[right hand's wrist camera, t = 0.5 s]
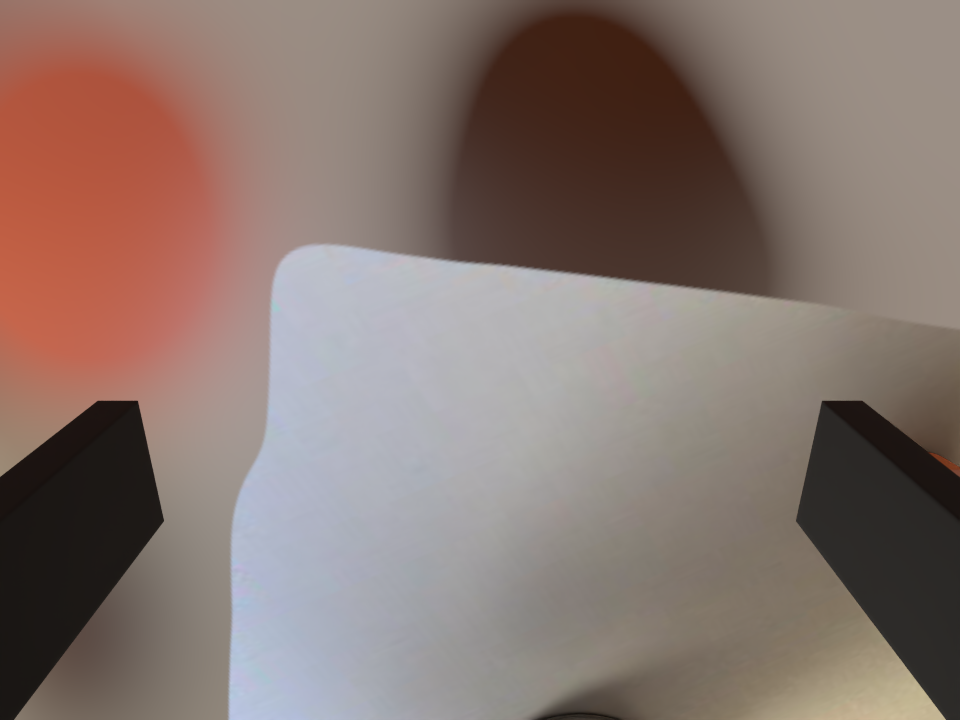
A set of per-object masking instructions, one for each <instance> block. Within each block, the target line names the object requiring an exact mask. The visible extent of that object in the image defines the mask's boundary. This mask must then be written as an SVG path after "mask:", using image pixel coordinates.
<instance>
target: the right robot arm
mask: <svg viewBox="0 0 960 720" xmlns="http://www.w3.org/2000/svg"><path fill="white" fill-rule="evenodd" d="M163 522H164V519H163V514H162V510H161V505H160V500H159V496H158V491H157V487H156V482H155V478H154V473H153V468H152V464H151V459H150V455H149V450H148V445H147V441H146V436H145V432H144V427H143V423H142V418H141V413H140V409H139V404H138V401H97V402H96V403H94V404H93V405H92V406H91V407H89V408H88V409H87V410H85V411H84V412H83V413H82V414H80V415H79V416H78V417H77V418H75V419H74V420H73V421H71V422H70V423H69V424H68V425H66V426H65V427H64V428H62V429H61V430H60V431H59V432H57V433H56V434H55V435H53V436H52V437H51V438H50V439H48V440H47V441H46V442H45V443H43V444H42V445H41V446H39V447H38V448H37V449H36V450H34V451H33V452H32V453H30V454H29V455H28V456H27V457H25V458H24V459H23V460H21V461H20V462H19V463H18V464H16V465H15V466H14V467H12V468H11V469H10V470H9V471H7V472H6V473H5V474H3V475H2V476H1V477H0V720H14V719H15V718H16V716H17V715H18V714H19V712H20V711H21V710H22V708H23V707H24V706H25V704H26V703H27V702H28V700H29V699H30V698H31V696H32V695H33V694H34V692H35V691H36V690H37V688H38V687H39V686H40V684H41V683H42V682H43V680H44V679H45V678H46V677H47V675H48V674H49V672H50V671H51V670H52V669H53V667H54V666H55V665H56V663H57V662H58V661H59V659H60V658H61V657H62V655H63V654H64V653H65V651H66V650H67V649H68V647H69V646H70V645H71V643H72V642H73V641H74V639H75V638H76V637H77V635H78V634H79V633H80V631H81V630H82V629H83V628H84V626H85V625H86V624H87V622H88V621H89V620H90V618H91V617H92V616H93V614H94V613H95V612H96V610H97V609H98V608H99V606H100V605H101V604H102V602H103V601H104V600H105V598H106V597H107V596H108V594H109V593H110V592H111V590H112V589H113V588H114V586H115V585H116V584H117V583H118V581H119V580H120V579H121V577H122V576H123V574H124V573H125V572H126V571H127V569H128V568H129V567H130V565H131V564H132V563H133V561H134V560H135V559H136V557H137V556H138V555H139V553H140V552H141V551H142V549H143V548H144V547H145V545H146V544H147V543H148V541H149V540H150V539H151V538H152V536H153V535H154V533H155V532H156V531H157V530H158V528H159V527H160V526H161V524H162V523H163ZM796 522H797V523H798V524H799V526H800V527H801V528H802V530H803V531H804V532H805V534H806V535H807V536H808V538H809V539H810V540H811V541H812V543H813V544H814V545H815V547H816V548H817V549H818V551H819V552H820V553H821V555H822V556H823V557H824V559H825V560H826V561H827V563H828V564H829V565H830V567H831V568H832V569H833V571H834V572H835V573H836V575H837V576H838V577H839V579H840V580H841V581H842V583H843V584H844V585H845V586H846V588H847V589H848V590H849V592H850V593H851V594H852V596H853V597H854V598H855V600H856V601H857V602H858V604H859V605H860V606H861V608H862V609H863V610H864V612H865V613H866V614H867V616H868V617H869V618H870V620H871V621H872V622H873V624H874V625H875V626H876V628H877V629H878V630H879V631H880V633H881V634H882V635H883V637H884V638H885V639H886V641H887V642H888V643H889V645H890V646H891V647H892V649H893V650H894V651H895V653H896V654H897V655H898V657H899V658H900V659H901V661H902V662H903V663H904V665H905V666H906V667H907V669H908V670H909V671H910V673H911V674H912V675H913V677H914V678H915V679H916V680H917V682H918V683H919V684H920V686H921V687H922V688H923V690H924V691H925V692H926V694H927V695H928V696H929V698H930V699H931V700H932V702H933V703H934V704H935V706H936V707H937V708H938V710H939V711H940V712H941V714H942V715H943V716H944V718H945V719H946V720H960V477H959V476H958V475H957V474H955V473H954V472H953V471H951V470H950V469H949V468H948V467H946V466H945V465H944V464H942V463H941V462H940V461H939V460H937V459H936V458H935V457H933V456H932V455H931V454H930V453H928V452H927V451H926V450H925V449H923V448H922V447H921V446H919V445H918V444H917V443H916V442H914V441H913V440H912V439H910V438H909V437H908V436H907V435H905V434H904V433H903V432H901V431H900V430H899V429H898V428H896V427H895V426H894V425H892V424H891V423H890V422H889V421H887V420H886V419H885V418H884V417H882V416H881V415H880V414H878V413H877V412H876V411H875V410H873V409H872V408H871V407H869V406H868V405H867V404H866V403H864V402H863V401H822V404H821V409H820V413H819V418H818V422H817V427H816V432H815V436H814V441H813V445H812V450H811V454H810V459H809V464H808V468H807V473H806V477H805V482H804V487H803V491H802V496H801V500H800V505H799V510H798V514H797V519H796ZM545 720H616V719H613V718H609V717H604V716H598V715H588V714H575V715H564V716H558V717H553V718H549V719H545Z"/></svg>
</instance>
